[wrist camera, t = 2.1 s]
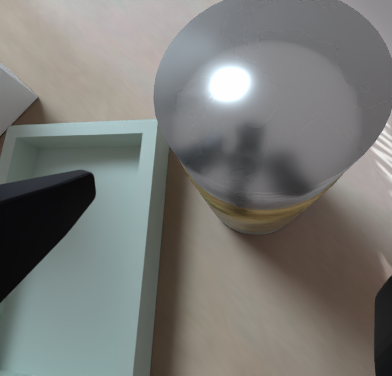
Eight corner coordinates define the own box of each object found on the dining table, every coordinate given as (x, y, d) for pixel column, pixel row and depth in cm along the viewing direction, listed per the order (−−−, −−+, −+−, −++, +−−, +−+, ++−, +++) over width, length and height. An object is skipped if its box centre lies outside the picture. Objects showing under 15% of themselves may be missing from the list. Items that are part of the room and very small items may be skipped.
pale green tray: (147, 405, 17) (126, 434, 14) (-15, 378, 19) (-61, 398, 16) (170, 137, 21) (158, 118, 18) (37, 141, 24) (8, 125, 21)
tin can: (307, 237, 18) (415, 196, 6) (205, 233, 19) (141, 193, 8) (302, 142, 19) (381, -28, 8) (209, 144, 21) (162, 0, 9)
